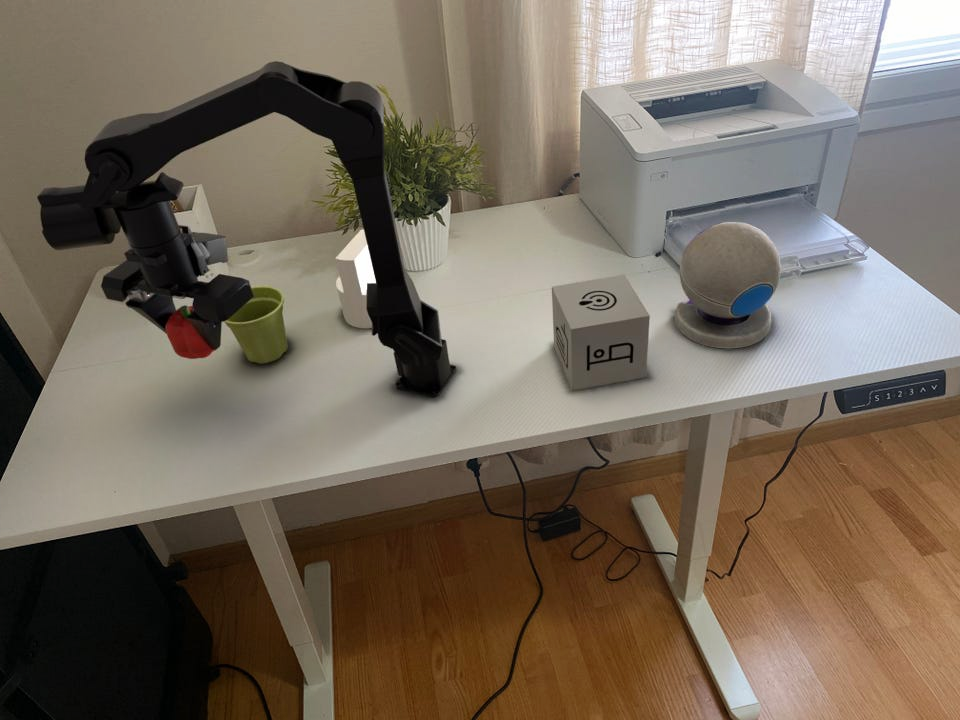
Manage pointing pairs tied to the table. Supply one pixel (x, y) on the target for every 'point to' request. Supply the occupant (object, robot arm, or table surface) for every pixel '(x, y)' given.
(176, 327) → the pepper
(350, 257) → the cylinder with rectangular tab
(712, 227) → the webcam
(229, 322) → the plant pot
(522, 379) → the table surface
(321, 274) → the table surface
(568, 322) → the icon cube
